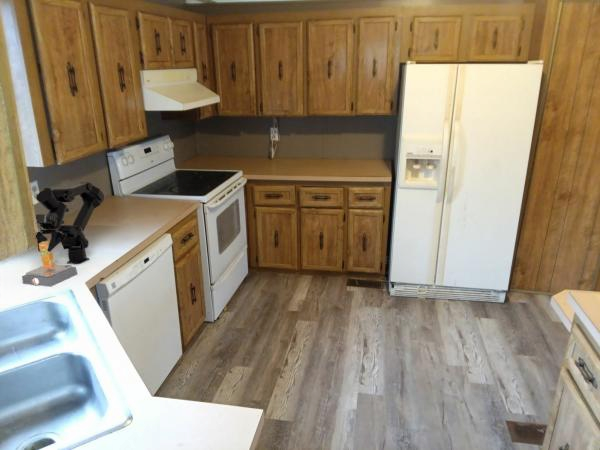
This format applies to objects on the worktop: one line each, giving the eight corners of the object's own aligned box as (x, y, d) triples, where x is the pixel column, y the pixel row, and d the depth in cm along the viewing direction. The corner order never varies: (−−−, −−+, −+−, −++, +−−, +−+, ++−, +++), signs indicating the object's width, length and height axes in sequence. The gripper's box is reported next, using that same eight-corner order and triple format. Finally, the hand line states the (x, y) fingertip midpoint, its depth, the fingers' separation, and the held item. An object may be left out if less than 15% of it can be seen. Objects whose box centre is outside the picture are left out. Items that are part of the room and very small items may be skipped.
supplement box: (42, 268, 170) (37, 243, 168) (47, 265, 173) (43, 240, 171) (50, 268, 170) (45, 243, 167) (56, 265, 173) (51, 240, 171)
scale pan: (49, 265, 179) (49, 263, 178) (71, 267, 176) (71, 265, 175) (26, 274, 168) (25, 272, 168) (49, 277, 165) (49, 275, 165)
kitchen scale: (50, 271, 181) (49, 264, 180) (77, 274, 177) (76, 267, 176) (21, 284, 168) (20, 276, 167) (49, 287, 164) (48, 279, 163)
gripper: (20, 205, 170) (7, 241, 162) (68, 204, 169) (57, 241, 161) (36, 220, 179) (24, 255, 172) (82, 219, 179) (72, 254, 171)
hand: (44, 251), depth 169 cm, fingers closed on supplement box, 3 cm apart
